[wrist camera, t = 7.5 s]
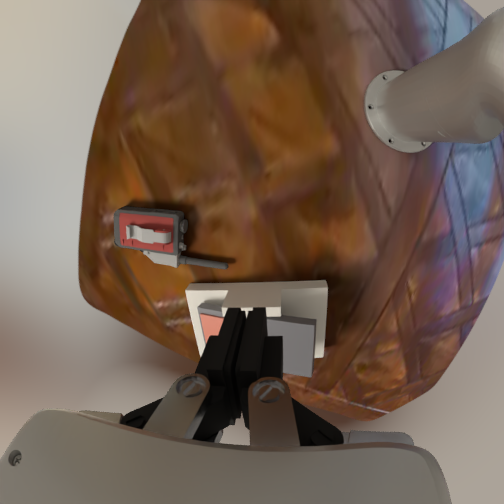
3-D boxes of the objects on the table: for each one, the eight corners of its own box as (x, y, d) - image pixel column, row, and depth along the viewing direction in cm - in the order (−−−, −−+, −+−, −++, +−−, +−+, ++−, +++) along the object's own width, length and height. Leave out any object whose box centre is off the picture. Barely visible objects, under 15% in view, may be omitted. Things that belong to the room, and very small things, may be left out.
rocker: (317, 318, 36) (314, 326, 35) (313, 369, 40) (310, 378, 38) (202, 301, 43) (196, 308, 41) (212, 349, 47) (206, 356, 45)
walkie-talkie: (120, 252, 45) (229, 269, 44) (106, 261, 41) (223, 281, 40) (117, 203, 42) (233, 215, 41) (103, 209, 38) (227, 222, 37)
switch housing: (325, 280, 42) (332, 304, 35) (321, 348, 47) (325, 377, 40) (190, 283, 45) (174, 306, 38) (203, 348, 50) (193, 375, 43)
